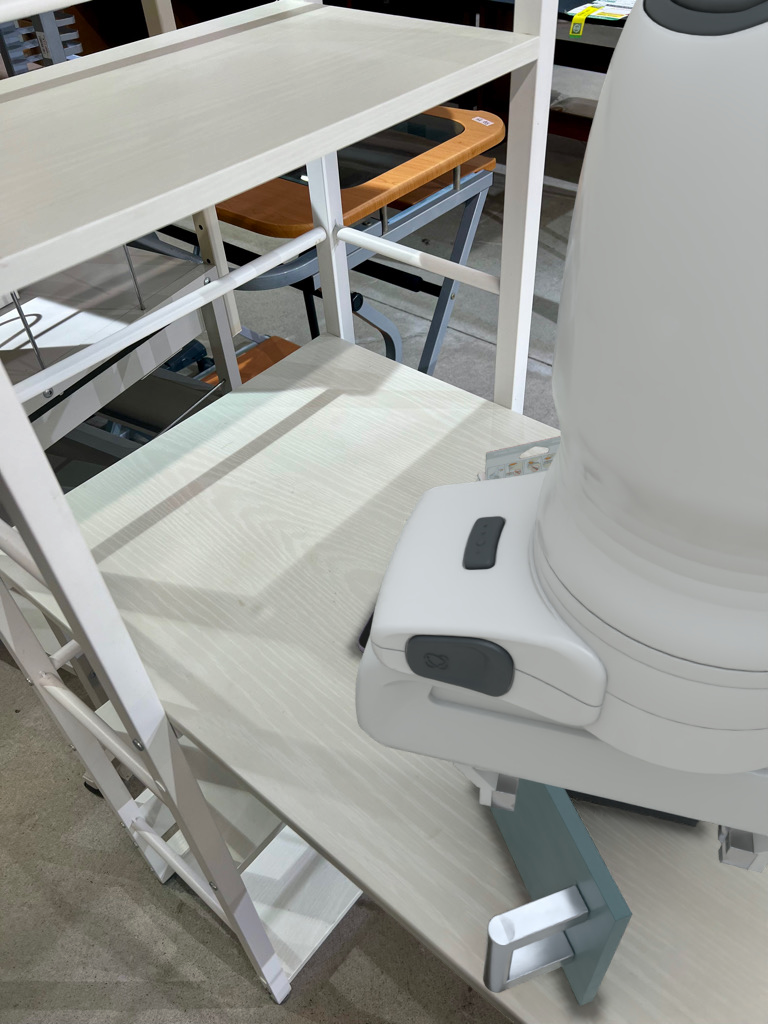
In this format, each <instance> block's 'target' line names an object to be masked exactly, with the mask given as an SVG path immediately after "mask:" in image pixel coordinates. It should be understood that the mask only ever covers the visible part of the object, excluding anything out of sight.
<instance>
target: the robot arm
mask: <svg viewBox="0 0 768 1024" xmlns="http://www.w3.org/2000/svg"><path fill="white" fill-rule="evenodd" d="M598 97H599V98H598V101H597V104H596V109H595V113H594V116H593V119H592V124H591V127H590V131H589V135H588V139H587V144H586V148H585V152H584V157H583V162H582V166H581V171H580V176H579V180H578V185H577V186H578V187H577V190H576V196H575V201H574V206H573V212H572V216H571V222H570V227H569V228H570V229H569V234H568V239H567V240H568V241H567V248H566V253H565V259H564V267H563V273H562V281H561V288H560V295H559V303H558V311H557V321H556V329H555V337H554V348H553V354H552V361H551V374H550V375H551V376H550V380H551V389H552V390H551V391H552V398H553V399H552V400H553V405H554V409H555V413H556V417H557V420H558V423H559V431H560V436H561V441H560V445H559V449H558V451H557V453H556V455H555V457H554V459H553V460H552V462H551V464H550V466H549V468H548V471H543V472H538V473H533V474H527V475H520V476H514V477H507V478H500V479H492V480H484V481H477V480H476V481H465V482H457V483H448V484H440V485H436V486H433V487H430V488H428V489H426V490H425V491H424V492H423V493H422V494H421V496H420V497H419V499H418V500H417V502H416V503H415V505H414V507H413V509H412V511H411V512H410V514H409V516H408V518H407V520H406V522H405V524H404V526H403V528H402V530H401V532H400V534H399V536H398V538H397V541H396V543H395V545H394V548H393V550H392V552H391V555H390V557H389V560H388V563H387V566H386V569H385V571H384V574H383V577H382V581H381V583H380V584H381V585H380V587H379V591H378V594H377V599H376V603H375V607H374V608H375V611H374V616H373V621H372V626H371V632H370V636H369V639H368V642H367V645H366V647H365V650H364V652H362V656H361V659H360V662H359V664H358V667H357V672H356V679H355V692H354V693H355V696H354V699H355V702H354V703H355V714H356V720H357V724H358V727H359V729H361V730H362V731H363V732H364V733H365V734H366V735H367V736H369V737H370V738H371V739H372V740H374V741H375V742H377V743H378V744H380V745H382V746H383V747H385V748H389V749H393V750H397V751H402V752H407V753H410V754H411V753H412V754H416V755H420V756H421V755H422V756H424V757H428V758H433V759H437V760H442V761H445V762H450V763H452V765H453V766H454V767H455V768H457V770H458V771H460V772H461V774H463V775H464V776H465V777H466V778H467V779H468V780H469V781H470V782H471V783H472V784H474V786H475V787H477V788H479V797H478V799H479V801H478V804H479V805H482V806H487V807H489V806H491V807H494V808H499V809H503V810H508V811H512V812H514V808H515V803H516V796H517V791H518V784H519V779H520V778H522V779H526V780H531V781H535V782H539V783H543V784H548V785H552V786H556V787H560V788H565V789H569V790H573V791H577V792H582V793H586V794H590V795H594V796H599V797H603V798H607V799H611V800H616V801H620V802H624V803H628V804H633V805H637V806H641V807H646V808H650V809H654V810H658V811H663V812H667V813H671V814H675V815H680V816H684V817H688V818H692V819H697V820H699V821H701V822H705V823H709V824H715V825H718V826H717V840H718V842H719V844H720V846H719V848H718V851H717V853H718V854H717V855H718V861H719V864H720V863H721V864H724V865H728V866H732V867H735V868H739V869H744V870H746V871H750V872H754V873H759V874H762V873H763V871H765V869H766V868H767V866H768V0H635V2H634V3H633V6H632V8H631V10H630V12H629V14H628V16H627V18H626V21H625V23H624V26H623V28H622V31H621V33H620V36H619V38H618V41H617V43H616V46H615V47H614V51H613V54H612V56H611V59H610V62H609V65H608V69H607V72H606V75H605V78H604V81H603V84H602V87H601V90H600V94H599V96H598Z"/></svg>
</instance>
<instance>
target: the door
mask: <svg viewBox="0 0 768 1024" xmlns="http://www.w3.org/2000/svg"><path fill="white" fill-rule="evenodd" d="M574 805H575V804H573V801H572V800H571V797H569V796H568V794H567V792H566V791H565V789H564V788H560V787H556V786H552V785H548V784H543V783H539V782H535V781H531V780H526V779H522V778H520V779H519V784H518V791H517V796H516V803H515V808H514V812H512V811H508V810H503V809H499V808H494V807H491V806H488V807H489V809H490V811H491V814H492V815H493V818H494V821H495V823H496V824H497V827H498V829H499V832H500V833H501V836H502V838H503V840H504V842H505V844H506V847H507V849H508V852H509V853H510V855H511V858H512V860H513V862H514V864H515V867H516V869H517V871H518V873H519V875H520V878H521V879H522V882H523V884H524V886H525V888H526V891H527V893H528V895H529V898H530V899H531V901H528V902H526V903H524V904H521V905H519V906H516V907H514V908H511V909H508V910H505V911H503V912H501V913H499V914H495V915H493V916H492V917H491V918H490V919H489V920H488V923H487V928H486V937H485V938H486V939H485V950H484V960H483V972H482V981H483V985H484V986H485V988H486V989H487V990H488V991H489V992H491V993H494V994H500V993H502V992H505V991H507V990H510V989H512V988H515V987H516V986H518V985H521V984H524V983H526V982H529V981H531V980H533V979H536V978H538V977H541V976H543V975H545V974H548V973H550V972H552V971H555V970H557V969H560V968H562V970H563V972H564V975H565V977H566V979H567V981H568V984H569V986H570V987H571V990H572V992H573V994H574V996H575V999H576V1001H577V1003H578V1006H579V1007H581V1006H584V1005H586V1004H588V1003H591V1002H593V1001H594V999H595V997H596V996H597V993H598V991H599V989H600V986H601V985H602V982H603V979H604V977H605V975H606V973H607V971H608V969H609V967H610V965H611V962H612V960H613V958H614V956H615V953H616V951H617V949H618V947H619V945H620V942H621V940H622V939H623V936H624V933H625V931H626V929H627V927H628V925H629V923H630V921H631V918H632V916H633V912H632V911H631V909H630V906H629V905H628V903H627V901H626V899H625V897H624V896H623V894H622V892H621V890H620V888H619V886H618V885H617V883H616V881H615V879H614V877H613V876H612V873H611V872H610V869H609V868H608V866H607V863H606V862H605V861H604V859H603V857H602V855H601V853H600V852H599V850H598V848H597V846H596V844H595V843H594V840H593V839H592V837H591V835H590V833H589V831H588V829H587V828H586V825H585V824H584V822H583V820H582V818H581V817H580V815H579V812H578V811H577V809H576V808H575V806H574Z"/></svg>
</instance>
